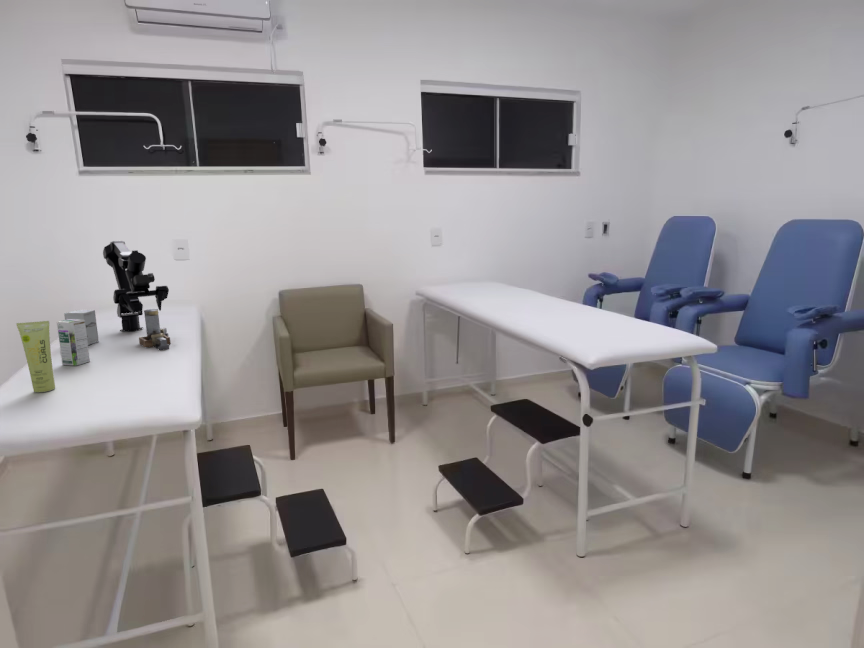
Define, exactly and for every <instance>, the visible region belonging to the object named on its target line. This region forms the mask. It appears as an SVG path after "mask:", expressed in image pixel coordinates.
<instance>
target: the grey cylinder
mask: <svg viewBox="0 0 864 648" xmlns="http://www.w3.org/2000/svg"><path fill="white" fill-rule="evenodd" d="M143 313H144V322H145V331H146V336H147V339H148V340H152V337H151V335H155V334H161V332H160V328H161V325H160V316H159V309H158V308H156V309H155V308H152V309H151V308H150V309H145V310H143Z"/></svg>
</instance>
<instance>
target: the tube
mask: <svg viewBox="0 0 864 648" xmlns="http://www.w3.org/2000/svg"><path fill="white" fill-rule="evenodd" d="M15 324H16V327H17V329H18V330H17V331H18V332H19V335H20V339H21V344H22V346H23V351H24V355H25V358H26V361H27V366H28V370H29V375H30V381H31V384H32V385H31V386H32V390H33V392H34V393H47V392H50V391H53V390H55V388H56V383H55V377H54V370H53V361H52V352H51V340H50V339H51V337H50V320H42V321H30V322H29V321H28V322H16V323H15Z"/></svg>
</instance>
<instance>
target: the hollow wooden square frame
mask: <svg viewBox="0 0 864 648" xmlns="http://www.w3.org/2000/svg"><path fill="white" fill-rule="evenodd" d="M163 335H164V334H163ZM164 338H165V339H167V344H168V345H171V337H170V336H169V335H168V336H166V335H164ZM138 341H139V344H140V345H141V346H142V345H143V346H142V347H144V348H145V347H148V348H154V347H153V346H152V340H148V339H147V335H146V336H141V337H140V336H139V337H138Z"/></svg>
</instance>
